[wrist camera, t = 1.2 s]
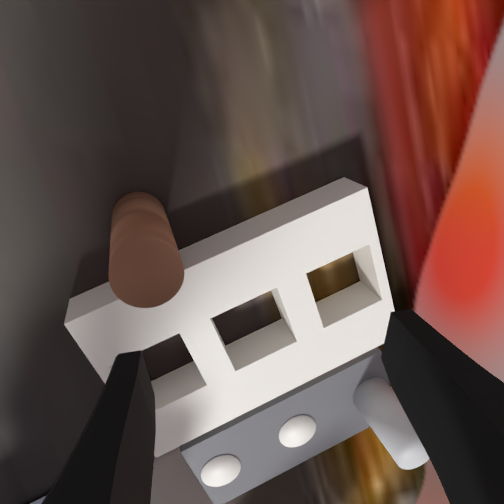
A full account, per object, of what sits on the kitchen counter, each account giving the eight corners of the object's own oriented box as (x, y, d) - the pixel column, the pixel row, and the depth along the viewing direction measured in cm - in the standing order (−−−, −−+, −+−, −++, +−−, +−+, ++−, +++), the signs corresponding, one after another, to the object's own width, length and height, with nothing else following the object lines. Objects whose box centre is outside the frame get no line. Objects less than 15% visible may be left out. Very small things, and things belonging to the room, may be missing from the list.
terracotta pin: (126, 249, 21) (129, 319, 15) (102, 204, 20) (94, 260, 14) (173, 229, 22) (195, 289, 16) (152, 183, 21) (166, 229, 14)
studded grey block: (211, 488, 29) (234, 588, 24) (177, 433, 27) (193, 531, 21) (385, 398, 31) (445, 471, 25) (368, 338, 28) (432, 404, 23)
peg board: (153, 425, 26) (156, 457, 24) (69, 298, 22) (64, 324, 19) (377, 314, 28) (399, 335, 26) (343, 177, 23) (367, 187, 21)
